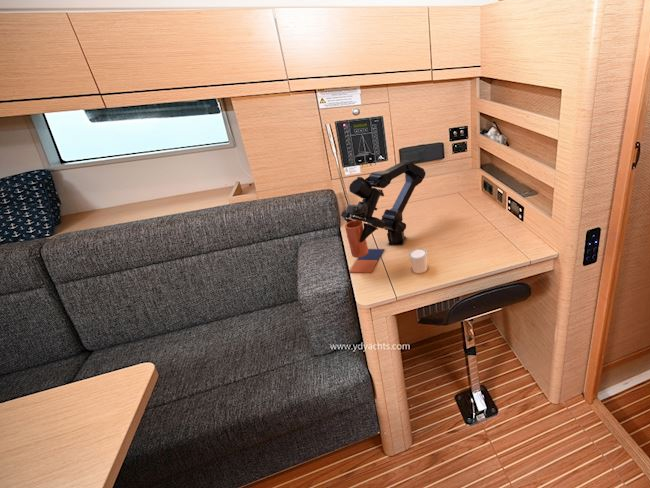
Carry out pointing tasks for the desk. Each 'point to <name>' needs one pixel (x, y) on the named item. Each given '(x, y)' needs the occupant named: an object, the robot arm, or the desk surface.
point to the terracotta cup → (356, 238)
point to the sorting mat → (367, 261)
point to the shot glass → (418, 260)
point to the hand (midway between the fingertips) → (354, 240)
